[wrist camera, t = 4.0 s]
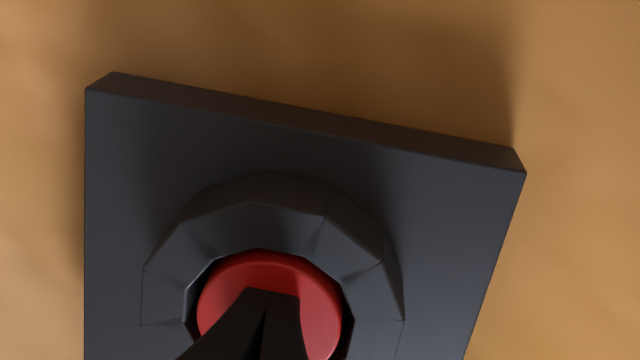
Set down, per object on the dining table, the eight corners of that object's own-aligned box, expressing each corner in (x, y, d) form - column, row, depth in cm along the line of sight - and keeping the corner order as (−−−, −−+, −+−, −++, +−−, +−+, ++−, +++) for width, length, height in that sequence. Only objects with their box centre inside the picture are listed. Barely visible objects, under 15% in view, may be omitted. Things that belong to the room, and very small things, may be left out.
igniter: (514, 147, 16) (547, 206, 13) (432, 397, 20) (441, 490, 17) (111, 70, 16) (46, 109, 13) (105, 332, 20) (53, 413, 17)
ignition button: (356, 240, 16) (353, 278, 14) (331, 349, 17) (326, 394, 16) (219, 214, 16) (202, 249, 14) (207, 324, 17) (190, 367, 16)
